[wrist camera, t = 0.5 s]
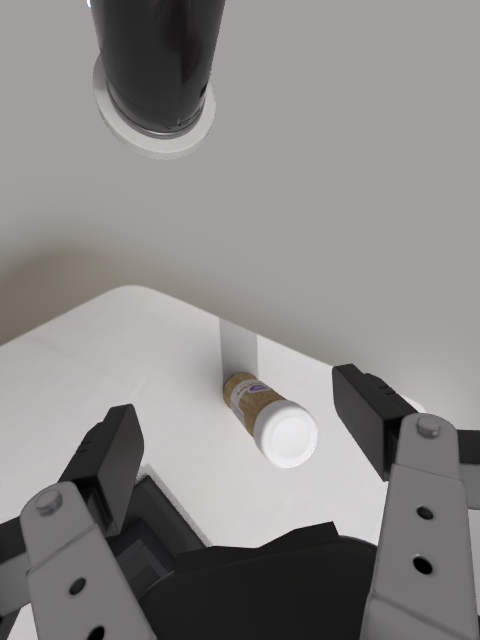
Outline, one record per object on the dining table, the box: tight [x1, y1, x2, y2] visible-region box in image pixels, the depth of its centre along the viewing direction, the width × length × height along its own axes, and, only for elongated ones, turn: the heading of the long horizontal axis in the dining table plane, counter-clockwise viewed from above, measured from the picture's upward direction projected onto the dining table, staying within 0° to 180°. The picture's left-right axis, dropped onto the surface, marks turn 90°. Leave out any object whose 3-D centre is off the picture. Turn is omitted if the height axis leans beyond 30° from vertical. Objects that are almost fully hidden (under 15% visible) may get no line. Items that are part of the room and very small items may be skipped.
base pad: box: [105, 475, 206, 599], centre depth 29 cm, size 14×14×4 cm
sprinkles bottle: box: [223, 373, 318, 468], centre depth 28 cm, size 5×5×14 cm
